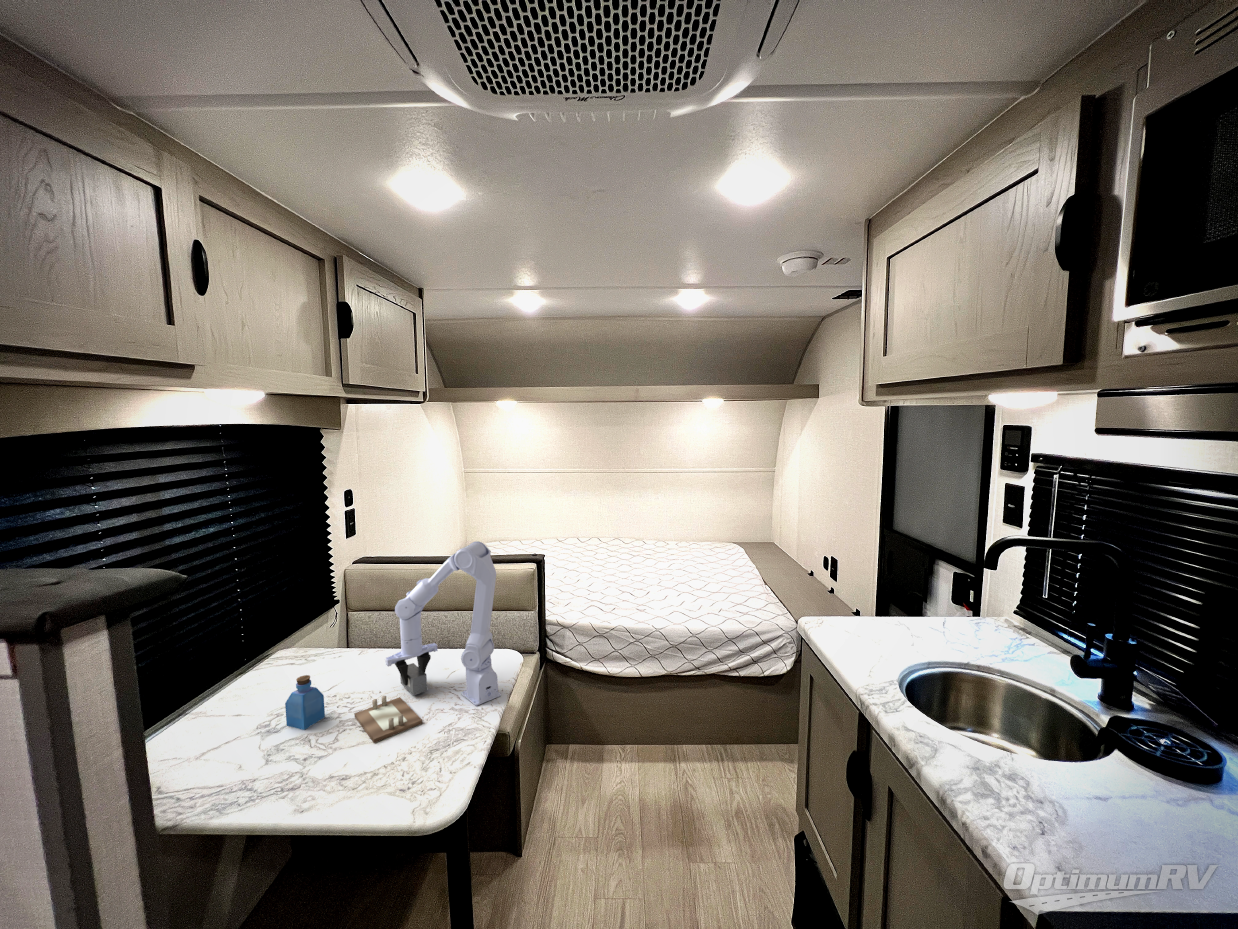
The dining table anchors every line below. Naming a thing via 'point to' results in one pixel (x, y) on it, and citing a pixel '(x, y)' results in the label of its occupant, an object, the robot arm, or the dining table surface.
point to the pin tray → (387, 718)
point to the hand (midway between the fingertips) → (413, 681)
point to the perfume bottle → (304, 705)
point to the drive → (415, 680)
